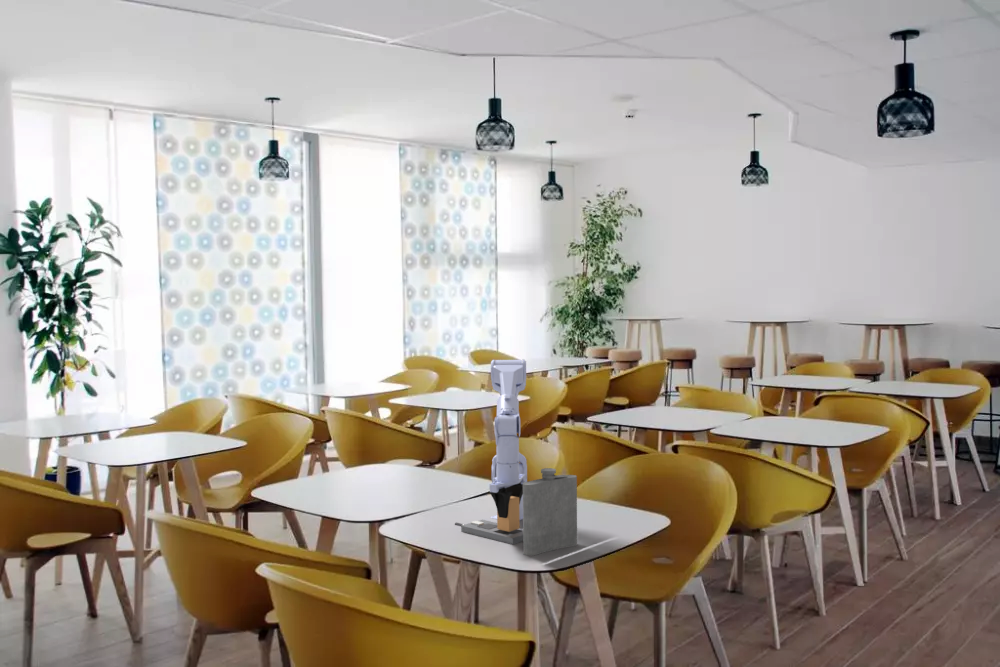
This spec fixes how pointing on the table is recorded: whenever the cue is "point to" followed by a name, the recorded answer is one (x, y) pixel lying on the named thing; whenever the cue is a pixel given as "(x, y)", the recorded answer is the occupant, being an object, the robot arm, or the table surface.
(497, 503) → the robot arm
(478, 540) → the table surface
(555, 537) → the hip flask
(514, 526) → the plug
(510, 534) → the power strip
